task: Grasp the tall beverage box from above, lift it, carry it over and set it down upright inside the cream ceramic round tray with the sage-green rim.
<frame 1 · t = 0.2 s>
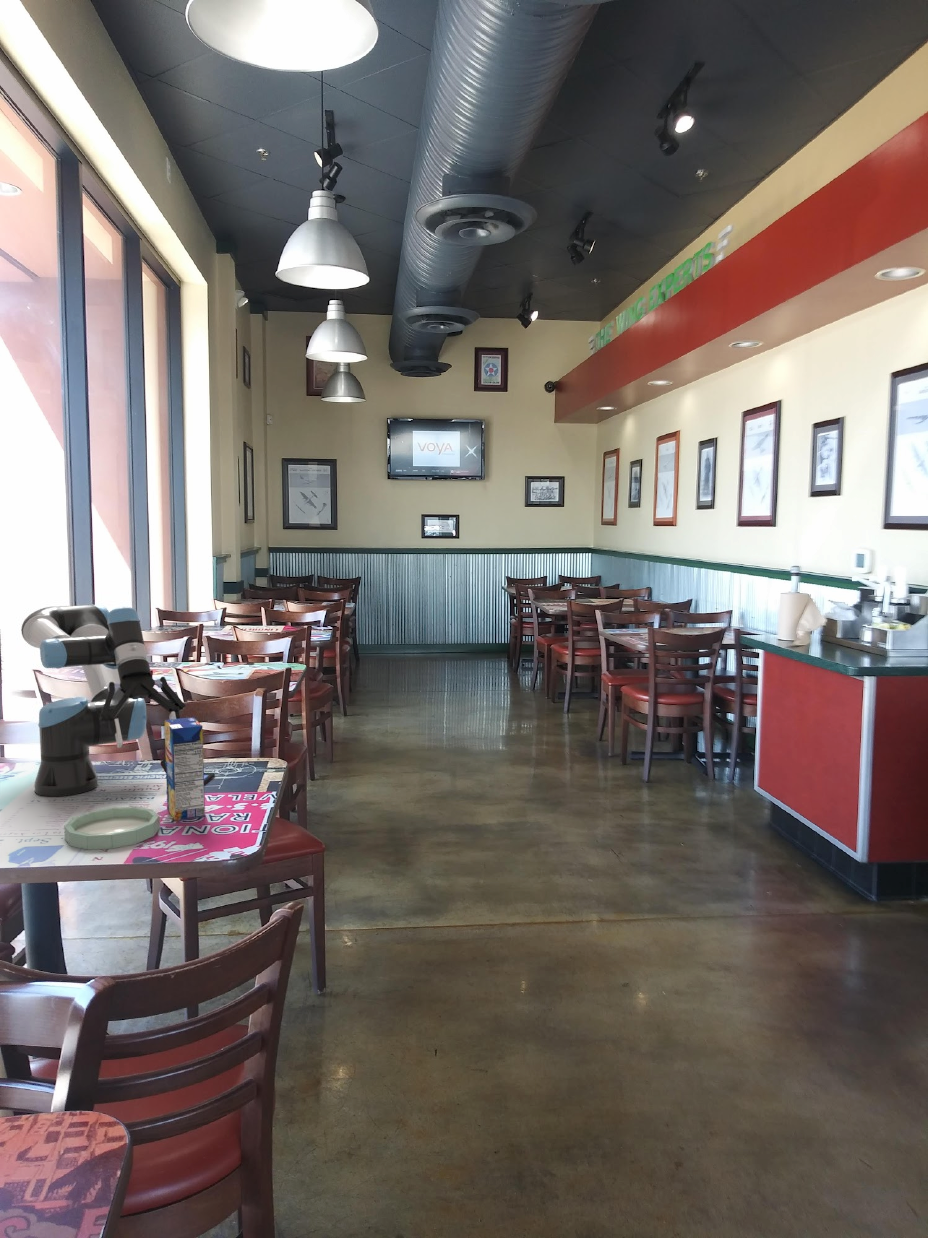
hand: (149, 741, 208), 16 cm above the table, tool tilted 35°, fingers open, 13 cm apart
beverage box: (185, 813, 205), on the table
round tray: (113, 833, 191), on the table
handheld game console: (188, 783, 231), on the table
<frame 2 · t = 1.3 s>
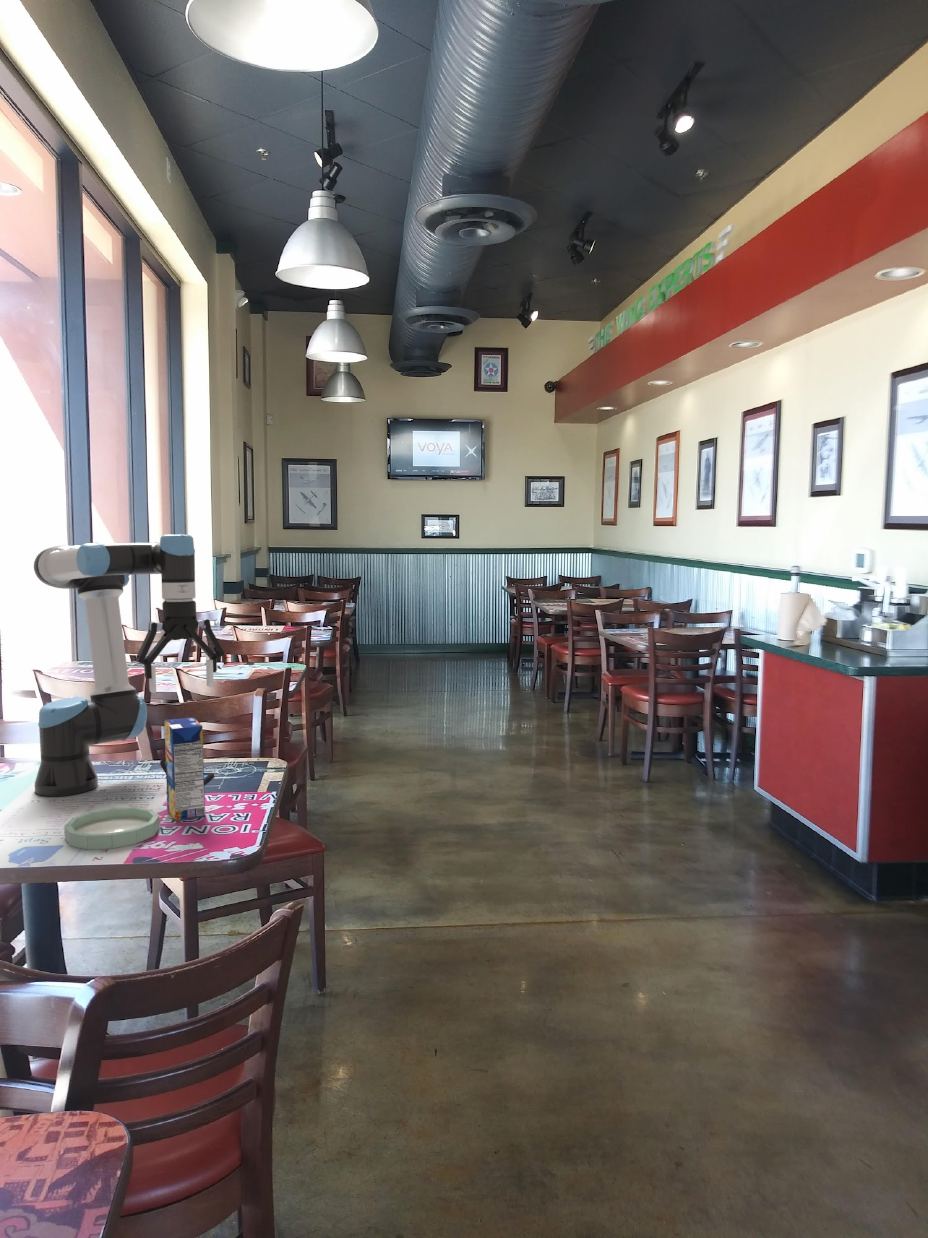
hand: (182, 689, 202), 30 cm above the table, tool pointing down, fingers open, 13 cm apart
nothing on the table moved.
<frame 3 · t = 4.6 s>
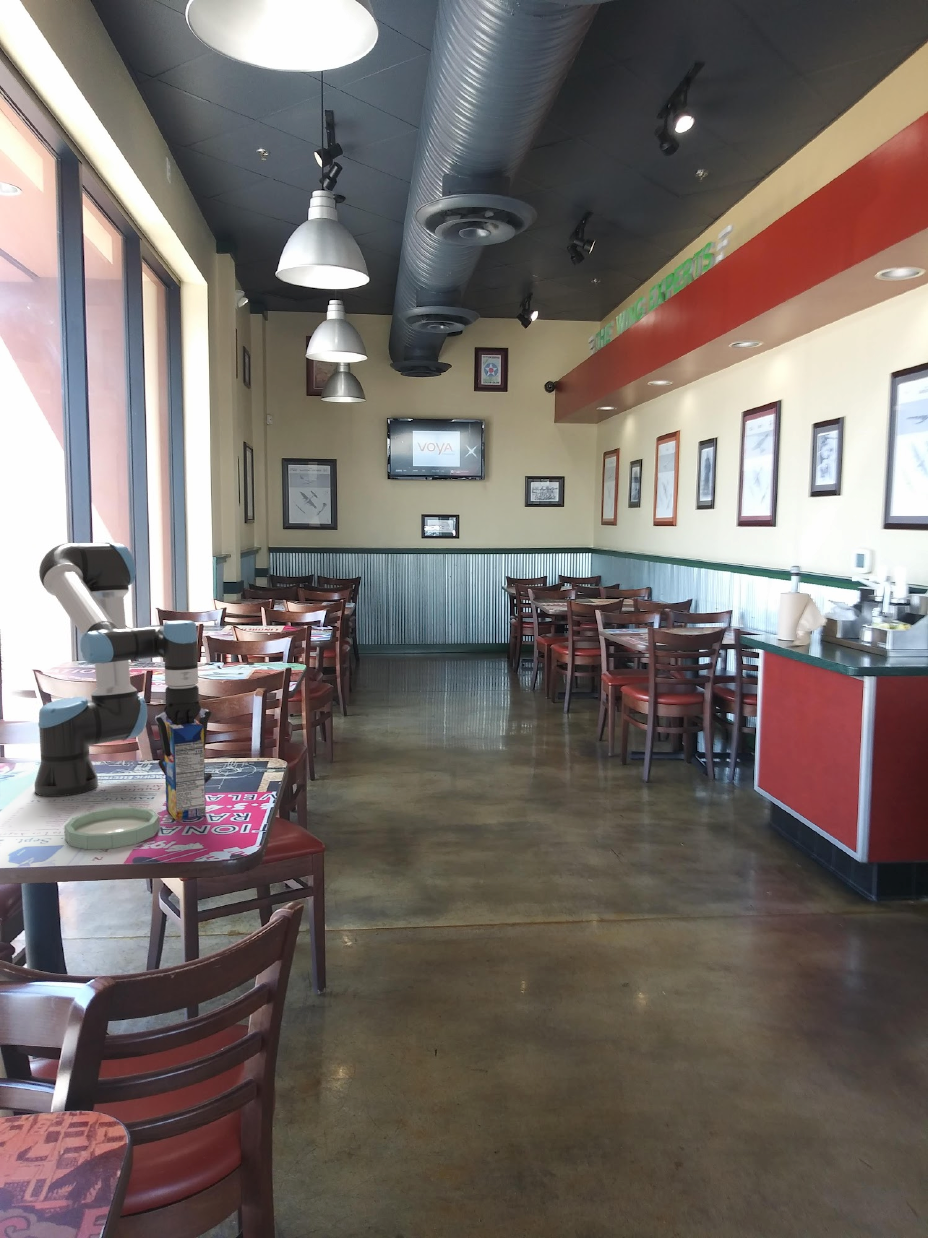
hand: (184, 782, 205), 8 cm above the table, tool pointing down, fingers closed on beverage box, 2 cm apart
beverage box: (185, 813, 205), on the table, touching gripper
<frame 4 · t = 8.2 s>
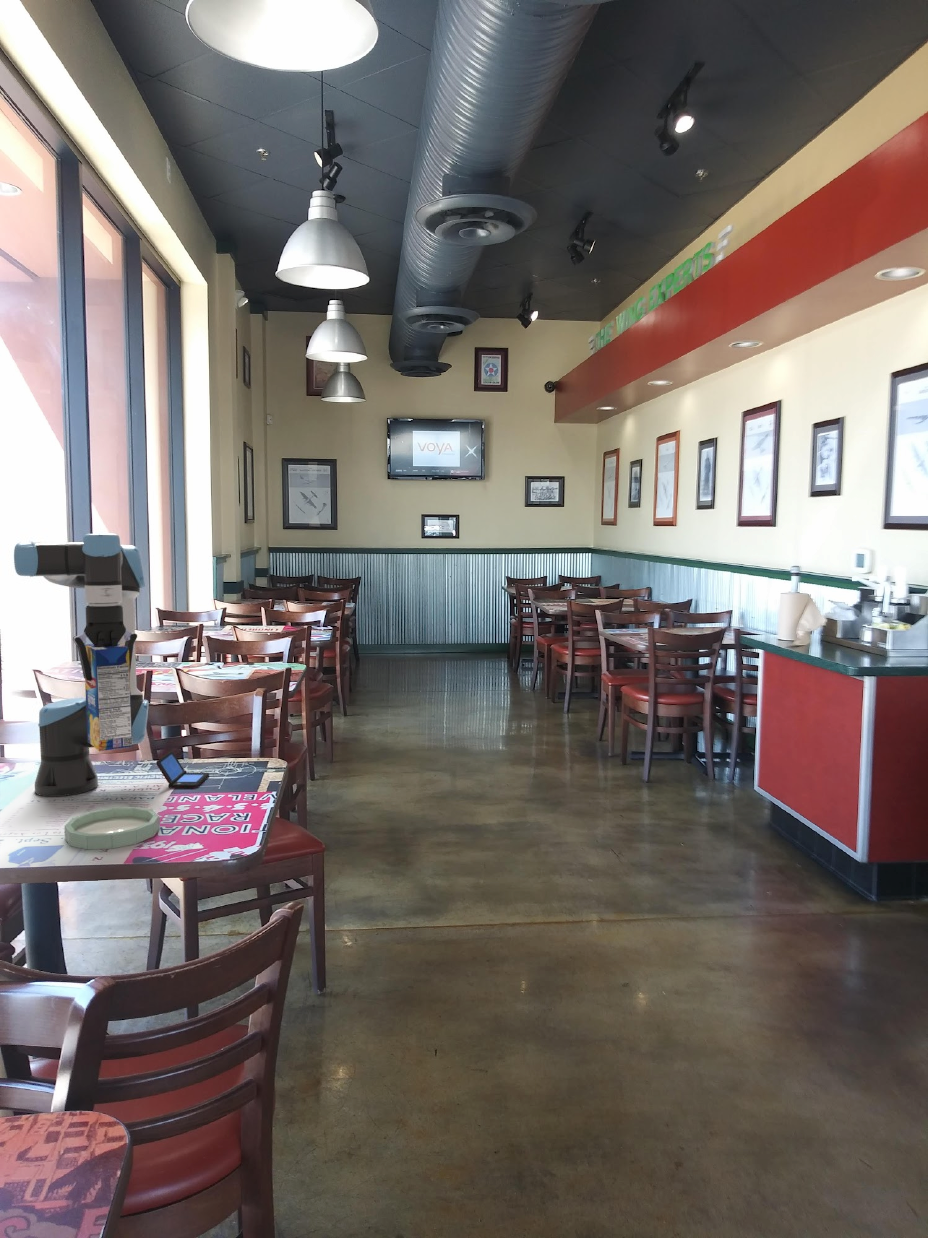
hand: (108, 710, 188), 28 cm above the table, tool pointing down, fingers closed on beverage box, 2 cm apart
beverage box: (109, 745, 189), point 20 cm above the table, touching gripper
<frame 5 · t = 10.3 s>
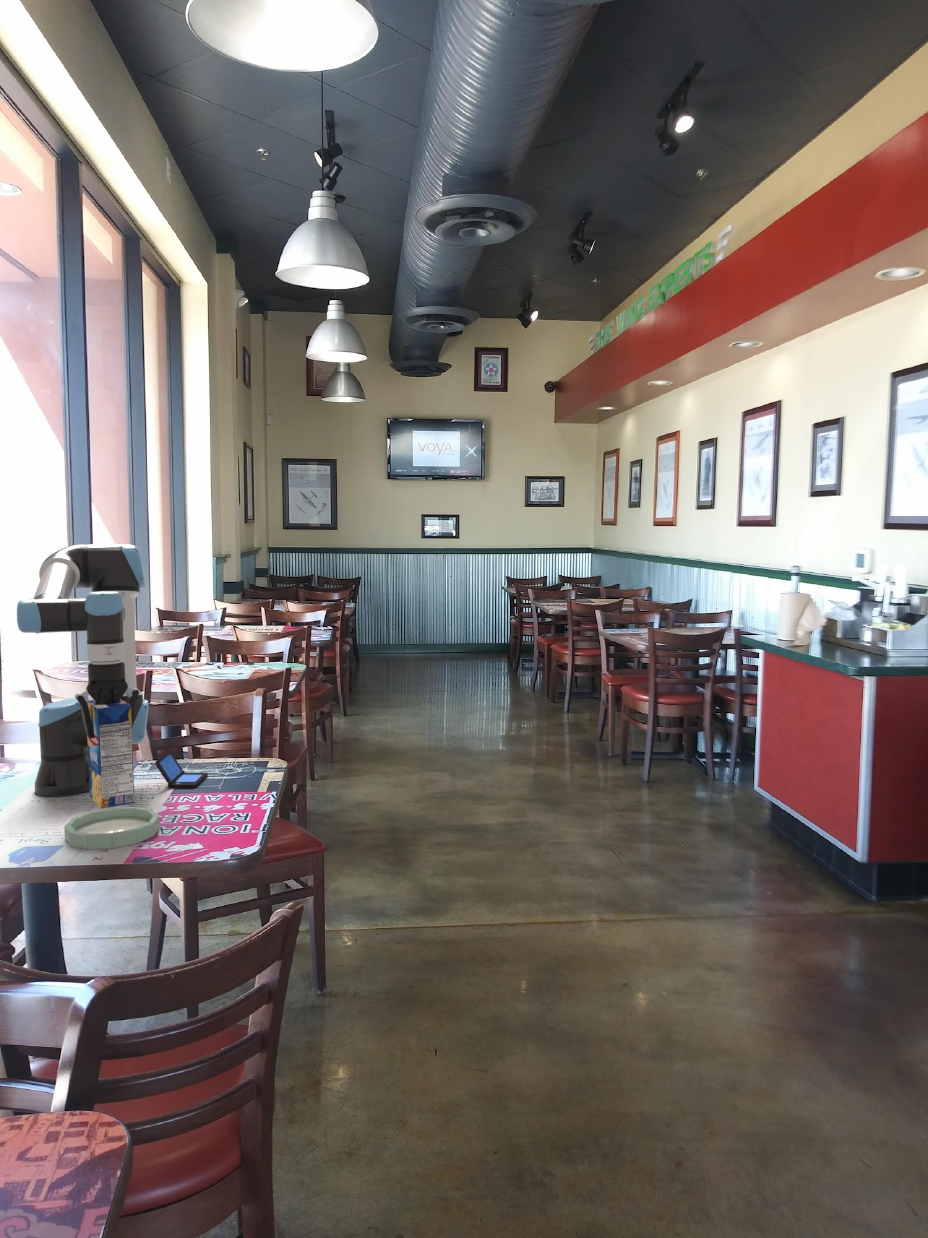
hand: (110, 766, 189), 15 cm above the table, tool pointing down, fingers closed on beverage box, 2 cm apart
beverage box: (111, 800, 190), point 8 cm above the table, touching gripper
when the fingers open (10 cm above the table, at t = 12.0 s): beverage box drops 1 cm, resting on round tray.
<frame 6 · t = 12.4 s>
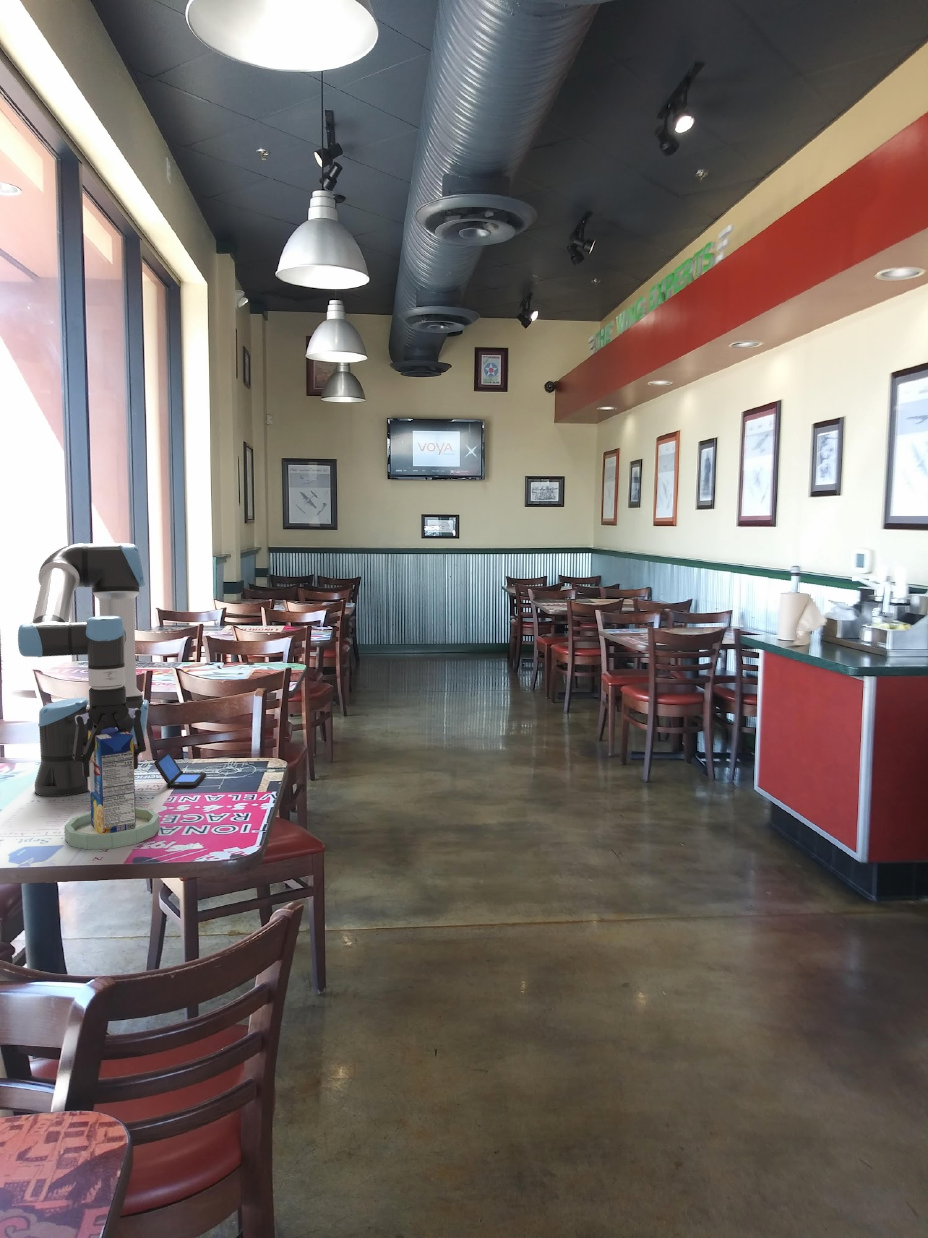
hand: (111, 787, 190), 11 cm above the table, tool pointing down, fingers open, 8 cm apart
beverage box: (113, 829, 191), point 1 cm above the table, touching round tray
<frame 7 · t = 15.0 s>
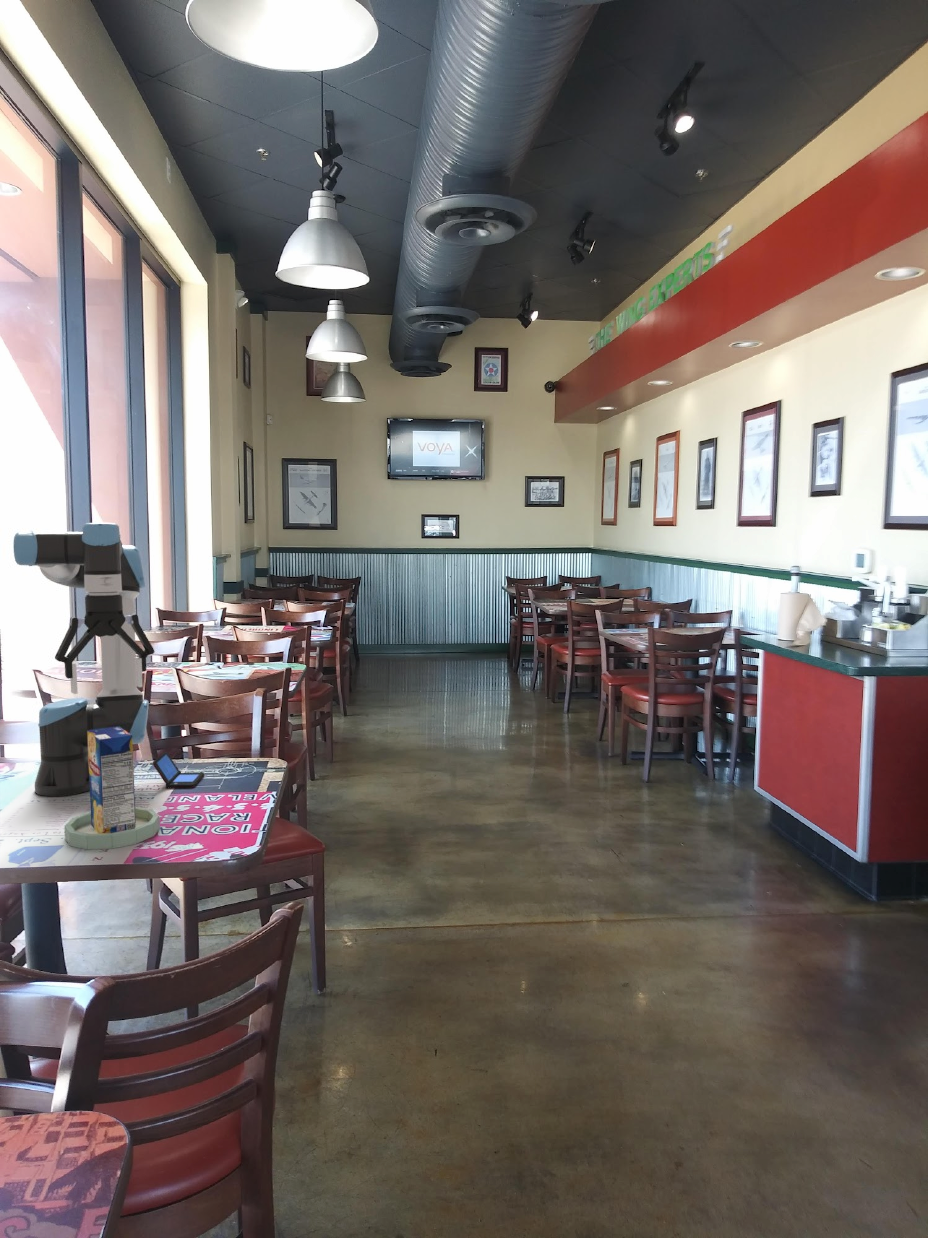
hand: (107, 689, 188), 33 cm above the table, tool pointing down, fingers open, 13 cm apart
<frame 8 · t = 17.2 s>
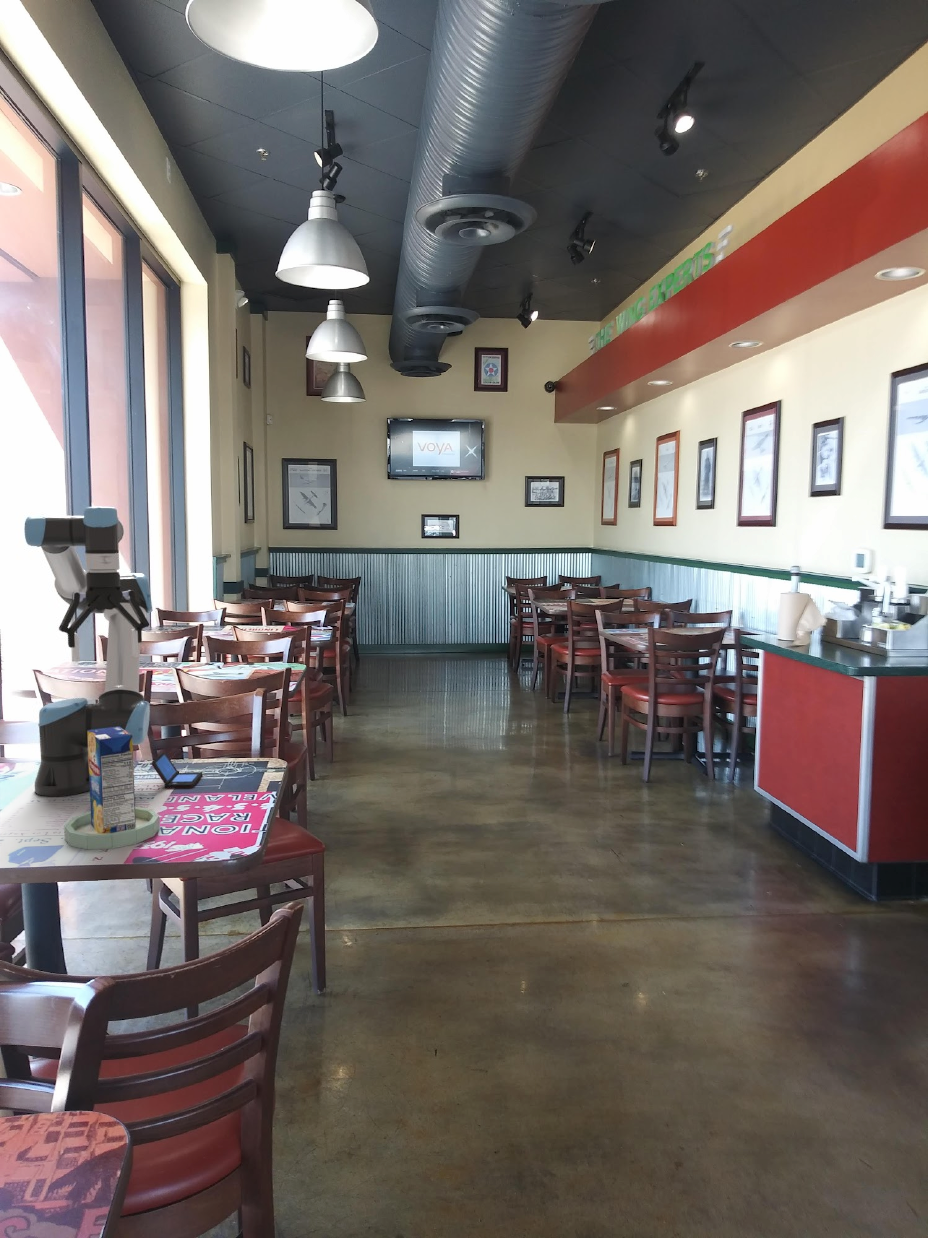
hand: (106, 658, 207), 37 cm above the table, tool pointing down, fingers open, 13 cm apart
at the end: beverage box inside the target area on the round tray (0.1 cm from its centre), point 0.8 cm above the round tray's base; beverage box tilted 0°; the gripper is holding nothing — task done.
